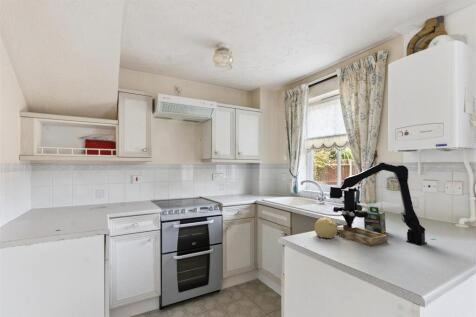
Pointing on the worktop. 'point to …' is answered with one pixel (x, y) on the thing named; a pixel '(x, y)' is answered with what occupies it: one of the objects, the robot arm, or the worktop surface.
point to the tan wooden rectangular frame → (364, 236)
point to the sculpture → (326, 228)
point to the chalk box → (375, 221)
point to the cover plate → (345, 228)
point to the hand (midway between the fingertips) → (349, 227)
